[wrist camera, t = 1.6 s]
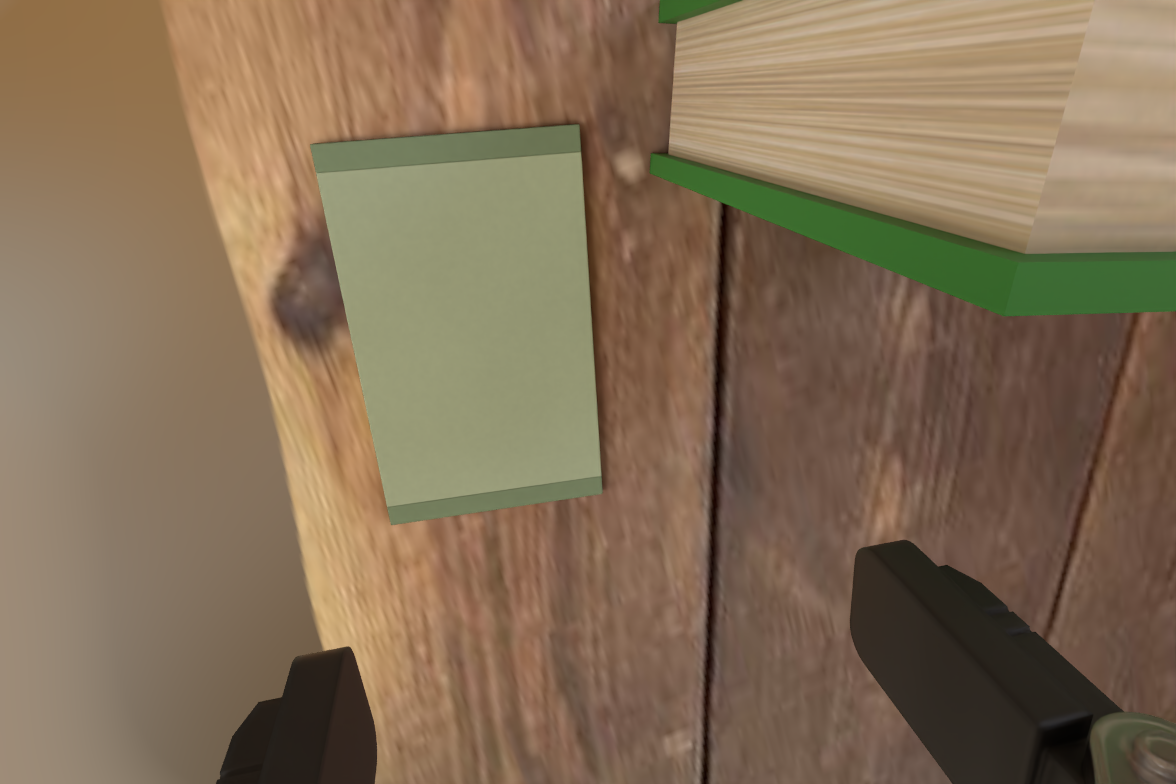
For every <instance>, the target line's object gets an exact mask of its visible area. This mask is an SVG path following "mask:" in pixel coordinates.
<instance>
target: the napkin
mask: <svg viewBox="0 0 1176 784" xmlns="http://www.w3.org/2000/svg"><path fill="white" fill-rule="evenodd" d="M310 147H311V152H312V156H313V161H314V166H315V170H316V175H317V180H318V184H319V189H320V194H321V198H322V203H323V208H324V213H325V217H326V222H327V227H328V231H329V236H330V241H331V245H332V250H333V255H334V259H335V264H336V269H337V274H338V278H339V283H340V288H341V292H342V297H343V302H344V306H345V311H346V316H347V321H348V325H349V330H350V335H351V339H352V344H353V349H354V353H355V358H356V363H357V367H358V372H359V377H360V382H361V386H362V391H363V396H364V400H365V405H366V410H367V414H368V419H369V424H370V429H371V433H372V438H373V443H374V447H375V452H376V457H377V461H378V466H379V471H380V475H381V480H382V485H383V490H384V494H385V499H386V504H387V508H388V513H389V518H390V522H391V525H396V524H402V523H409V522H416V521H423V520H429V519H436V518H443V517H449V516H456V515H463V514H470V513H476V512H483V511H490V510H497V509H503V508H510V507H517V506H524V505H530V504H537V503H544V502H551V501H557V500H564V499H571V498H577V497H584V496H591V495H598V494H602V493H603V492H602V476H601V460H600V444H599V428H598V412H597V396H596V380H595V364H594V348H593V332H592V316H591V300H590V284H589V268H588V252H587V236H586V220H585V204H584V188H583V172H582V156H581V152H580V151H581V140H580V125H579V124H571V125H558V126H544V127H531V128H518V129H504V130H491V131H477V132H464V133H451V134H437V135H424V136H411V137H397V138H384V139H371V140H357V141H344V142H331V143H317V144H311V145H310Z"/></svg>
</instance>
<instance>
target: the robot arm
mask: <svg viewBox="0 0 1176 784" xmlns="http://www.w3.org/2000/svg"><path fill="white" fill-rule="evenodd" d="M850 630H851V635H852V639H853V642H854V645H855V648H856V650H857V652H858V654H859V656H860V658H861V660H862V661H863V663H864V664H865V666H866V667H867V668H868V670H869V671H870V672H871V674H872V675H873V676H874V678H875V679H876V681H877V682H878V683H879V685H880V686H881V687H882V689H883V690H884V691H885V693H886V694H887V695H888V697H889V698H890V699H891V701H892V702H893V704H894V705H895V706H896V708H897V709H898V710H899V712H900V713H901V714H902V716H903V717H904V718H905V720H906V721H907V723H908V724H909V725H910V727H911V728H912V729H913V731H914V732H915V733H916V735H917V736H918V737H919V739H920V740H921V741H922V743H923V744H924V746H925V747H926V748H927V750H928V751H929V752H930V754H931V755H932V756H933V758H934V759H935V760H936V762H937V763H938V765H939V766H940V767H941V769H942V770H943V771H944V773H945V774H946V775H947V777H948V778H949V779H950V781H951V782H952V784H1176V724H1174V723H1172V722H1169V721H1167V720H1164V719H1162V718H1158V717H1155V716H1152V715H1147V714H1142V713H1135V712H1124V711H1123V710H1122V709H1120V708H1119V707H1118V706H1117V705H1116V704H1115V703H1114V702H1112V701H1111V700H1110V699H1109V698H1108V697H1107V696H1106V695H1105V694H1104V693H1102V692H1101V691H1100V690H1099V689H1098V688H1097V687H1096V686H1095V685H1094V684H1093V683H1091V682H1090V681H1089V680H1088V679H1087V678H1086V677H1085V676H1084V675H1083V674H1081V673H1080V672H1079V671H1078V670H1077V669H1076V668H1075V667H1074V666H1073V665H1071V664H1070V663H1069V662H1068V661H1067V660H1066V659H1065V658H1064V657H1063V656H1061V655H1060V654H1059V653H1058V652H1057V651H1056V650H1055V649H1054V648H1053V647H1052V646H1050V645H1049V644H1048V643H1047V642H1046V641H1045V640H1044V639H1043V638H1042V637H1040V636H1039V635H1038V634H1037V633H1036V632H1031V631H1030V628H1029V626H1028V625H1027V624H1026V623H1025V622H1024V621H1023V620H1022V619H1021V618H1019V617H1018V616H1017V615H1016V614H1015V613H1014V612H1009V611H1008V608H1007V606H1006V605H1005V604H1004V603H1003V602H1002V601H1001V600H999V599H998V598H997V597H996V596H995V595H994V594H993V593H992V592H991V591H990V590H988V589H987V588H986V587H985V586H984V585H983V584H982V583H980V582H978V581H976V580H975V579H973V578H971V577H969V576H967V575H965V574H963V573H961V572H959V571H957V570H955V569H954V568H952V567H950V566H948V565H944V566H939V567H938V566H937V565H936V564H935V563H934V562H932V561H931V560H930V559H929V558H928V557H927V556H926V555H925V554H924V553H923V552H922V551H921V550H920V549H919V548H918V547H917V546H916V545H914V544H913V543H912V542H910V541H907V540H900V541H895V542H890V543H884V544H879V545H874V546H869V547H864V548H861V549H859V550H858V552H857V553H856V557H855V565H854V577H853V589H852V601H851V613H850ZM376 765H377V742H376V732H375V725H374V721H373V717H372V713H371V710H370V707H369V703H368V700H367V696H366V693H365V689H364V686H363V683H362V679H361V676H360V672H359V669H358V666H357V662H356V659H355V656H354V653H353V651H352V649H351V648H350V647H342V648H337V649H332V650H327V651H322V652H317V653H312V654H306V655H302V656H297V657H296V658H295V659H294V660H293V662H292V665H291V668H290V672H289V676H288V679H287V682H286V686H285V689H284V693H283V696H282V697H281V698H277V699H272V700H267V701H262V702H258V704H257V705H256V706H255V708H254V709H253V710H252V712H251V713H250V714H249V715H248V717H247V718H246V719H245V721H244V722H243V723H242V725H241V726H240V727H239V728H238V730H237V731H236V732H235V734H234V735H233V736H232V739H231V742H230V745H229V748H228V751H227V754H226V757H225V759H224V762H223V765H222V768H221V771H220V775H221V776H220V779H219V780H217V782H216V784H375V775H376Z"/></svg>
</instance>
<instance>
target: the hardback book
mask: <svg viewBox="0 0 1176 784" xmlns="http://www.w3.org/2000/svg"><path fill="white" fill-rule="evenodd" d="M659 23H670V24H677V33H676V48H675V62H674V77H673V92H672V107H671V122H670V136H669V151H668V153H651V160H650V174H653V175H655V176H658V177H660V178H663V179H665V180H668V181H670V182H673V183H675V184H678V185H680V186H683V187H685V188H688V189H690V190H692V191H695V192H697V193H700V194H702V195H705V196H707V197H710V198H712V199H715V200H717V201H720V202H722V203H725V204H727V205H730V206H732V207H735V208H737V209H740V210H742V211H744V212H747V213H749V214H752V215H754V216H757V217H759V218H762V219H764V220H767V221H769V222H772V223H774V224H777V225H779V226H782V227H784V228H787V229H789V230H792V231H794V232H796V233H799V234H801V235H804V236H806V237H809V238H811V239H814V240H816V241H819V242H821V243H824V244H826V245H829V246H831V247H834V248H836V249H839V250H841V251H844V252H846V253H848V254H851V255H853V256H856V257H858V258H861V259H863V260H866V261H868V262H871V263H873V264H876V265H878V266H881V267H883V268H886V269H888V270H891V271H893V272H896V273H898V274H900V275H903V276H905V277H908V278H910V279H913V280H915V281H918V282H920V283H923V284H925V285H928V286H930V287H933V288H935V289H938V290H940V291H943V292H945V293H948V294H950V295H952V296H955V297H957V298H960V299H962V300H965V301H967V302H970V303H972V304H975V305H977V306H980V307H982V308H985V309H987V310H990V311H992V312H995V313H997V314H1000V315H1002V316H1028V315H1063V314H1098V313H1132V312H1167V311H1176V0H660V6H659Z"/></svg>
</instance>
